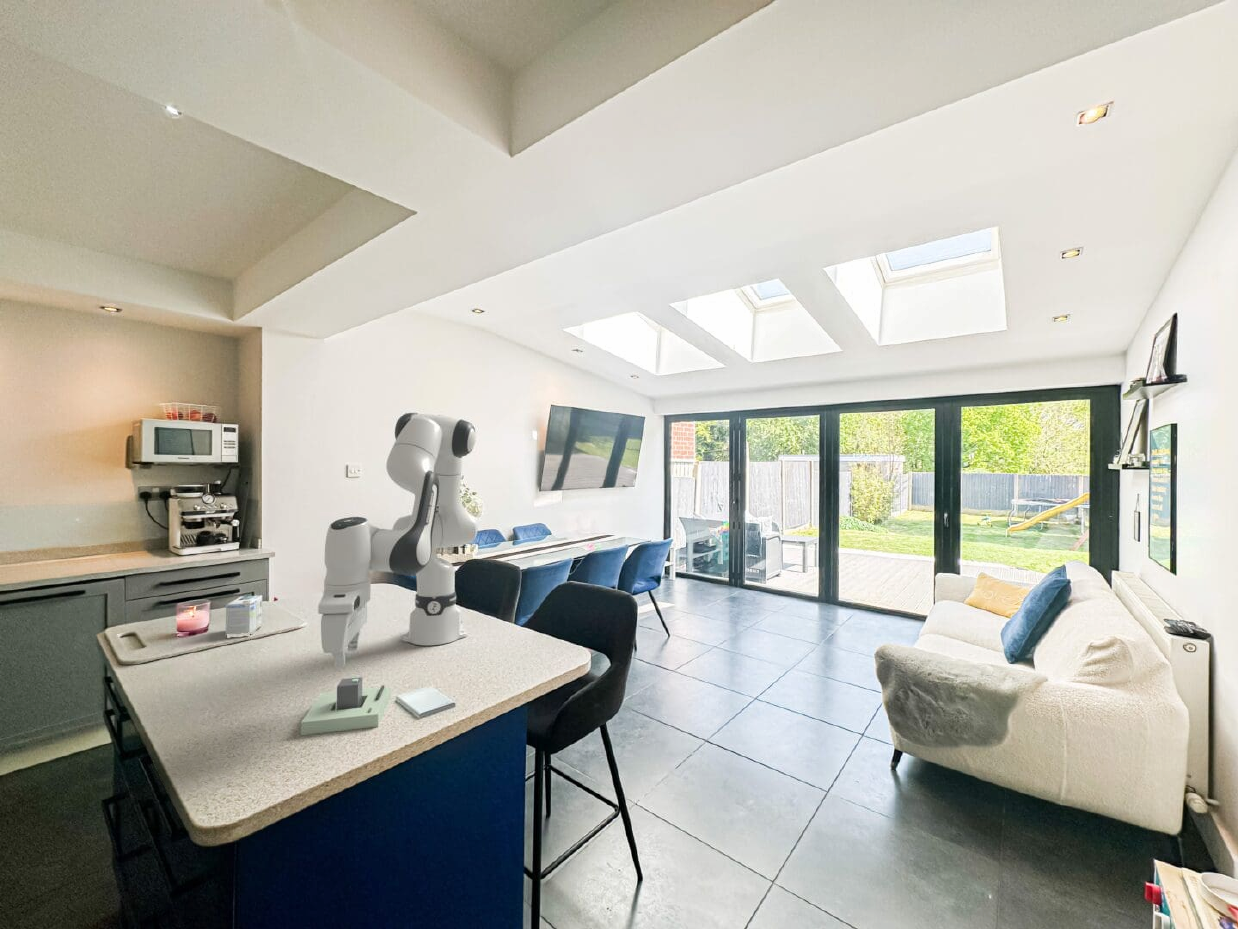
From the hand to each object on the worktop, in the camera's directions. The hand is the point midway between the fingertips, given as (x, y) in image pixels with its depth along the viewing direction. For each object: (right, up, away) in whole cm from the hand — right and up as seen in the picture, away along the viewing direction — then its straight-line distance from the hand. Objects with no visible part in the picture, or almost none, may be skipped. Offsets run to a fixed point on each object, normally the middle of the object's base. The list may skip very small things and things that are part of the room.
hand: (346, 658), depth 109 cm
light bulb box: (-62, -13, +54) cm, 83 cm away
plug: (+1, -12, -1) cm, 12 cm away
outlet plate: (+1, -12, -1) cm, 12 cm away
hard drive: (+15, -13, +5) cm, 20 cm away
